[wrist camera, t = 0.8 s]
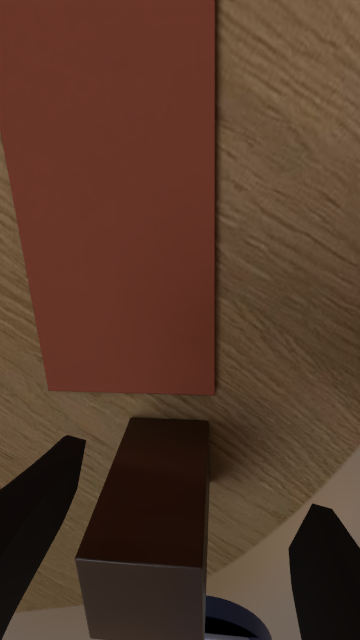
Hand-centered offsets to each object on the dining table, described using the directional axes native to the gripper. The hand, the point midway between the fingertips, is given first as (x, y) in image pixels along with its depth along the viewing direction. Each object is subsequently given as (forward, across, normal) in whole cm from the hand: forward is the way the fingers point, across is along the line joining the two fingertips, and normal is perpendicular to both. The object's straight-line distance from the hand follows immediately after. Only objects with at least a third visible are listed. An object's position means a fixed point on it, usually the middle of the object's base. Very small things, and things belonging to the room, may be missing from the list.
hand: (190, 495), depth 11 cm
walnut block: (+8, 0, +5) cm, 9 cm away
